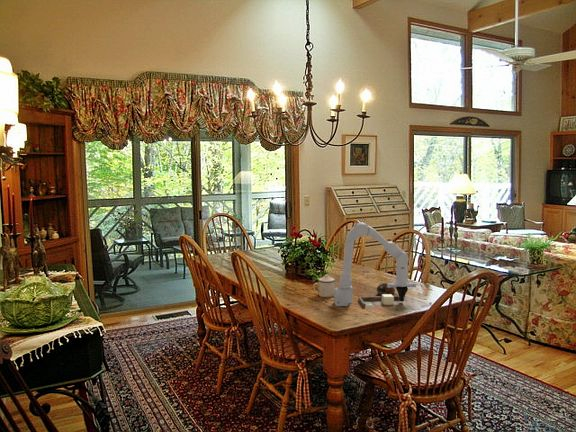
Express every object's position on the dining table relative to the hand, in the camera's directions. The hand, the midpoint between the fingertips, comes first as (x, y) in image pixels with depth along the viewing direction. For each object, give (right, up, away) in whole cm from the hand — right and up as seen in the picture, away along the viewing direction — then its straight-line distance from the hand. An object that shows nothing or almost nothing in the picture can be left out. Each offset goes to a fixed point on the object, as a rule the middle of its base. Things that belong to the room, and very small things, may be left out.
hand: (401, 300), depth 248 cm
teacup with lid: (-38, -1, +21) cm, 44 cm away
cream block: (-7, -1, 0) cm, 7 cm away
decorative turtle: (-5, -1, +16) cm, 17 cm away
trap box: (-8, -3, -1) cm, 9 cm away
